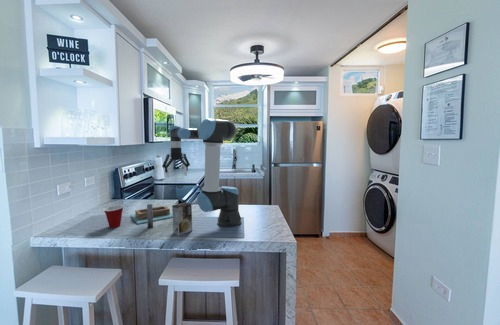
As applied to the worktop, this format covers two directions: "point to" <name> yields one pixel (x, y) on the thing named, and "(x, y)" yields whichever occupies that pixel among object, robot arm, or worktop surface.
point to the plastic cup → (114, 215)
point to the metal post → (150, 215)
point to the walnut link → (156, 212)
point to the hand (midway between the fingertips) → (176, 176)
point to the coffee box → (182, 218)
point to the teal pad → (153, 218)
